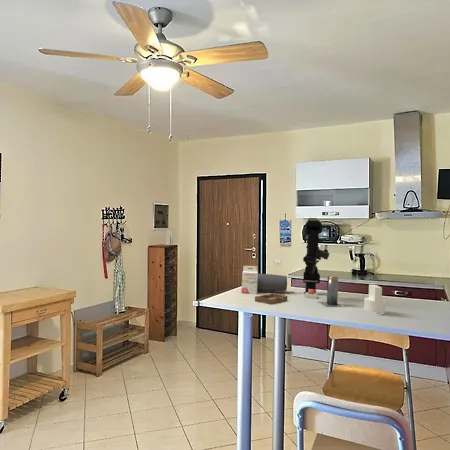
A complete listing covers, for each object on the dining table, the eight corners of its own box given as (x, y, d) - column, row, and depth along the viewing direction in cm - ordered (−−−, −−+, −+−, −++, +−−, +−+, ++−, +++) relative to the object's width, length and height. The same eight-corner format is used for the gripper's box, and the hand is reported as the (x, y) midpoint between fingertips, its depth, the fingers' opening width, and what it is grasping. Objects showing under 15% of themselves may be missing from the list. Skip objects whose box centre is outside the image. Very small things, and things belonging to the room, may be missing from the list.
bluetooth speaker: (286, 291, 231) (287, 274, 231) (285, 294, 222) (286, 276, 222) (247, 289, 236) (248, 271, 236) (244, 291, 227) (245, 273, 227)
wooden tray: (272, 297, 210) (272, 293, 210) (287, 300, 203) (287, 296, 203) (254, 301, 201) (255, 296, 201) (269, 304, 194) (269, 299, 194)
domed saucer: (273, 294, 219) (274, 292, 219) (286, 295, 217) (286, 294, 217) (270, 296, 213) (270, 295, 213) (283, 298, 210) (283, 296, 210)
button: (308, 292, 211) (308, 288, 211) (314, 293, 210) (314, 289, 210) (307, 293, 208) (307, 289, 208) (313, 294, 207) (313, 290, 207)
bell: (327, 302, 195) (328, 274, 195) (337, 303, 194) (338, 275, 194) (326, 304, 191) (327, 275, 191) (336, 305, 189) (337, 276, 189)
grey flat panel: (317, 304, 198) (317, 301, 198) (337, 304, 199) (337, 301, 199) (326, 309, 186) (326, 306, 186) (347, 309, 187) (347, 306, 187)
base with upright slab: (361, 310, 187) (362, 284, 187) (381, 310, 187) (381, 284, 187) (367, 314, 178) (368, 287, 178) (388, 315, 178) (389, 288, 178)
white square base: (306, 298, 213) (306, 292, 213) (317, 299, 211) (317, 293, 210) (304, 300, 207) (304, 294, 207) (315, 301, 205) (316, 295, 205)
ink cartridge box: (241, 293, 221) (242, 266, 221) (241, 291, 226) (242, 265, 226) (257, 294, 220) (257, 267, 220) (257, 292, 225) (258, 266, 225)
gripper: (326, 246, 197) (325, 278, 197) (330, 244, 214) (329, 273, 214) (303, 244, 201) (302, 276, 201) (309, 243, 218) (308, 272, 218)
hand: (311, 274), depth 209 cm, fingers open, 4 cm apart
